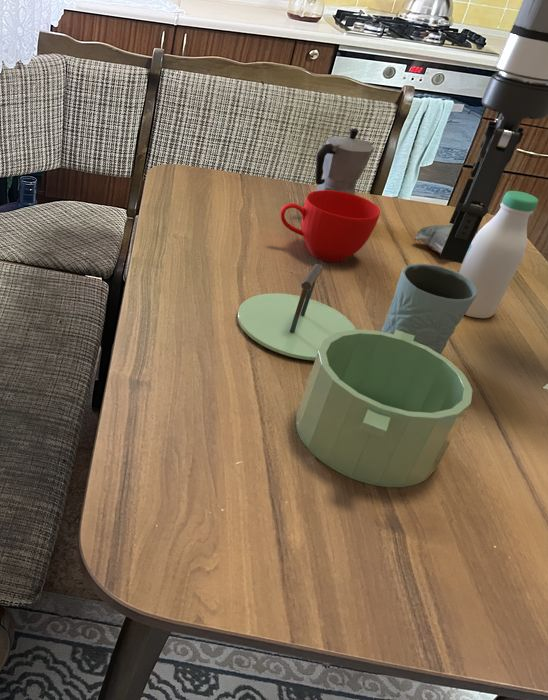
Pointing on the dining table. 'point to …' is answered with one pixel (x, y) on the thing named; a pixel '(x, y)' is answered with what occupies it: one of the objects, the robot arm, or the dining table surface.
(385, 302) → the dining table surface
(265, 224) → the dining table surface
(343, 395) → the pot
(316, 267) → the lid
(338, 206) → the ceramic cup
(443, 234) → the packaged food
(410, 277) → the blue-grey cylindrical cup
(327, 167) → the coffeepot
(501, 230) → the milk bottle
